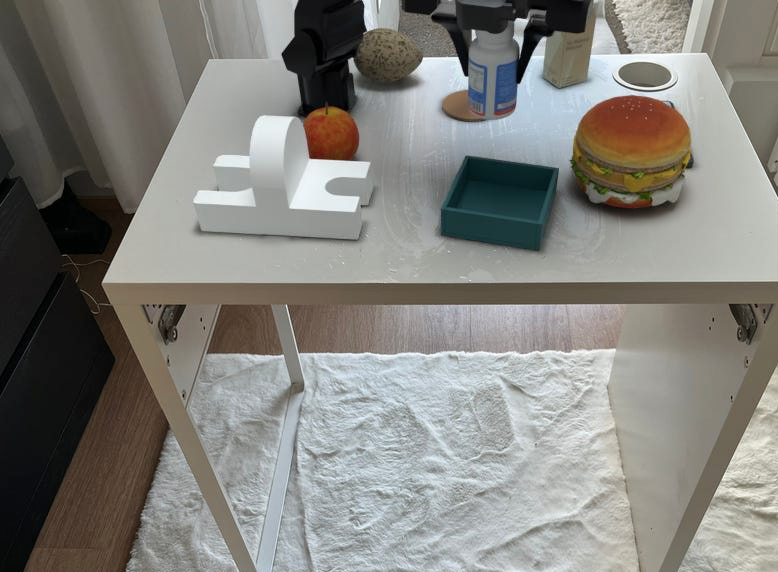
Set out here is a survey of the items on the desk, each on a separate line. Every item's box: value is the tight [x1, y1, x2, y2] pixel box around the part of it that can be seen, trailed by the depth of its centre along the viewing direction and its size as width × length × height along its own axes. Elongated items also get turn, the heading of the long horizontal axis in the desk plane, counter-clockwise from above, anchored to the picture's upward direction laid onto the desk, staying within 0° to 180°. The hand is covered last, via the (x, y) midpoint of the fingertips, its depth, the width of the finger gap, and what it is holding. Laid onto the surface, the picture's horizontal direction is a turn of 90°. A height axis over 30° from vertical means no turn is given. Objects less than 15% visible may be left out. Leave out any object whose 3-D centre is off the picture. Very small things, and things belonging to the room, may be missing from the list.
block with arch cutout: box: [192, 114, 374, 241], centre depth 85 cm, size 18×10×11 cm, turn 83°
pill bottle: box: [467, 21, 521, 121], centre depth 82 cm, size 6×5×10 cm
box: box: [542, 0, 599, 89], centre depth 105 cm, size 5×4×11 cm
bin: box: [440, 154, 560, 251], centre depth 86 cm, size 11×11×4 cm
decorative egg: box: [352, 27, 424, 84], centre depth 107 cm, size 7×7×10 cm
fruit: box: [302, 102, 360, 161], centre depth 92 cm, size 7×7×8 cm
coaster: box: [441, 89, 488, 122], centre depth 104 cm, size 8×8×1 cm
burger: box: [569, 94, 692, 209], centre depth 87 cm, size 13×14×10 cm
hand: (492, 78), depth 83 cm, fingers closed on pill bottle, 5 cm apart
